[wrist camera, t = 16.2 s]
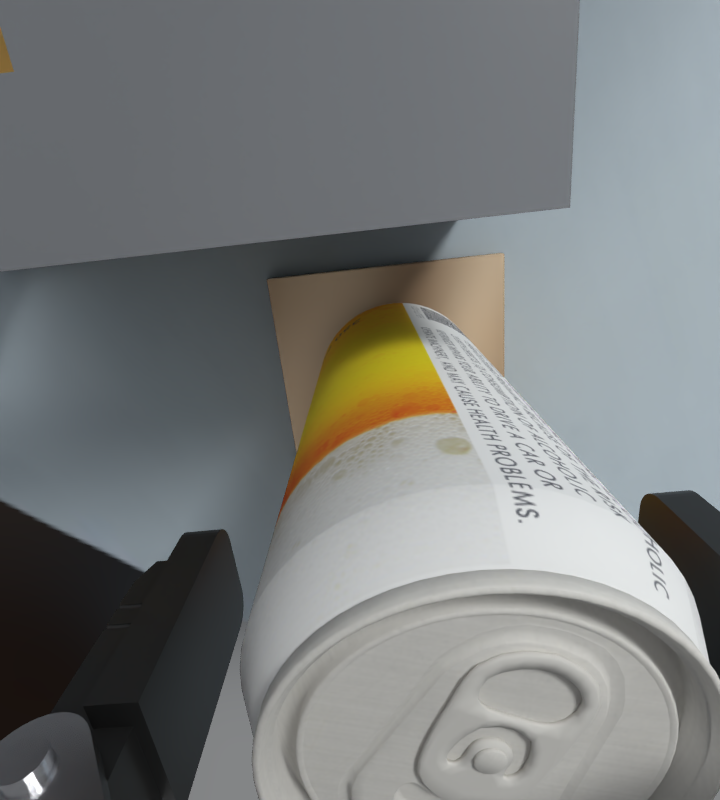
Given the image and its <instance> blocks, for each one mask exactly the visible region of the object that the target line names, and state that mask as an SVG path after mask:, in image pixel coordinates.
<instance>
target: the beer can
mask: <svg viewBox="0 0 720 800" xmlns="http://www.w3.org/2000/svg"><path fill="white" fill-rule="evenodd" d="M240 676H241V686H242V692H243V696H244V700H245V704H246V708H247V713H248V717H249V721H250V725H251V729H252V733H253V737H254V740H253V750H252V767H253V778H254V783H255V787H256V791H257V794H258V798H259V800H713V799H714V797H715V796H716V794H717V792H718V791H719V789H720V679H719V677H718V675H717V673H716V672H715V670H714V669H713V668H712V666H711V665H710V663H709V658H708V653H707V649H706V644H705V639H704V634H703V630H702V625H701V620H700V616H699V613H698V609H697V606H696V603H695V599H694V596H693V594H692V592H691V590H690V588H689V586H688V584H687V582H686V580H685V578H684V576H683V575H682V574H681V572H680V571H679V569H678V568H677V567H676V565H675V564H674V562H673V561H672V559H671V558H670V557H669V556H668V555H667V554H666V553H665V552H664V551H663V549H662V548H661V547H660V546H659V545H658V544H657V543H656V542H655V541H654V540H653V539H652V538H651V536H650V535H649V534H648V533H647V532H646V531H645V530H644V529H643V528H642V527H641V526H640V525H639V523H638V522H637V521H636V520H635V519H634V518H633V517H632V516H631V515H630V514H629V513H628V512H627V510H626V509H625V508H624V507H623V506H622V505H621V504H620V503H619V502H618V501H617V500H616V498H615V497H614V496H613V495H612V494H611V493H610V492H609V491H608V490H607V489H606V488H605V487H604V485H603V484H602V483H601V482H600V481H599V480H598V479H597V478H596V477H595V476H594V475H593V474H592V472H591V471H590V470H589V469H588V468H587V467H586V466H585V465H584V464H583V463H582V462H581V460H580V459H579V458H578V457H577V456H576V455H575V454H574V453H573V452H572V451H571V450H570V449H569V447H568V446H567V445H566V444H565V443H564V442H563V441H562V440H561V439H560V438H559V437H558V436H557V434H556V433H555V432H554V431H553V430H552V429H551V428H550V427H549V426H548V425H547V424H546V422H545V421H544V420H543V419H542V418H541V417H540V416H539V415H538V414H537V413H536V412H535V411H534V409H533V408H532V407H531V406H530V405H529V404H528V403H527V402H526V401H525V400H524V399H523V398H522V396H521V395H520V394H519V393H518V392H517V391H516V390H515V389H514V388H513V387H512V386H511V384H510V383H509V382H508V381H507V380H506V379H505V378H504V377H503V376H502V375H501V374H500V373H499V371H498V370H497V369H496V368H495V367H494V366H493V365H492V364H491V363H490V362H489V361H488V360H487V358H486V357H485V356H484V355H483V354H482V353H481V352H480V351H479V350H478V349H477V348H476V347H475V345H474V344H473V343H472V342H471V341H470V340H469V339H468V338H467V337H466V336H465V335H464V333H463V332H462V331H461V330H460V329H459V328H458V327H457V326H456V325H455V324H454V323H453V322H452V321H451V320H449V319H448V318H447V317H445V316H444V315H442V314H441V313H439V312H437V311H435V310H433V309H431V308H428V307H425V306H422V305H417V304H412V303H390V304H384V305H380V306H377V307H373V308H371V309H368V310H366V311H364V312H362V313H360V314H359V315H357V316H355V317H354V318H353V319H351V320H350V321H349V322H348V323H346V324H345V325H344V326H343V327H342V328H341V329H340V331H339V332H338V333H337V334H336V335H335V337H334V338H333V340H332V341H331V343H330V345H329V347H328V349H327V351H326V354H325V357H324V360H323V363H322V367H321V370H320V374H319V377H318V381H317V384H316V388H315V391H314V395H313V398H312V402H311V405H310V408H309V412H308V415H307V419H306V422H305V426H304V429H303V433H302V436H301V440H300V443H299V447H298V450H297V453H296V457H295V460H294V464H293V467H292V471H291V474H290V478H289V481H288V485H287V488H286V492H285V495H284V498H283V502H282V505H281V509H280V512H279V516H278V519H277V523H276V526H275V530H274V533H273V537H272V540H271V543H270V547H269V550H268V554H267V557H266V561H265V564H264V568H263V571H262V575H261V578H260V582H259V585H258V588H257V592H256V595H255V599H254V602H253V606H252V609H251V613H250V616H249V620H248V623H247V627H246V630H245V635H244V639H243V644H242V648H241V661H240Z"/></svg>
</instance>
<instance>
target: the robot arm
mask: <svg viewBox="0 0 720 800" xmlns="http://www.w3.org/2000/svg"><path fill="white" fill-rule="evenodd" d="M638 523H639V525H640V526H641V527H642V528H643V529H644V530H645V531H646V532H647V533H648V534H649V535H650V536H651V538H652V539H653V540H654V541H655V542H656V543H657V544H658V545H659V546H660V547H661V548H662V549H663V551H664V552H665V553H666V554H667V555H668V556H669V557H670V558H671V559H672V561H673V562H674V564H675V565H676V567H677V568H678V569H679V571H680V572H681V574H682V575H683V576H684V578H685V580H686V582H687V584H688V586H689V588H690V590H691V592H692V594H693V596H694V599H695V603H696V606H697V609H698V613H699V616H700V620H701V625H702V630H703V634H704V639H705V644H706V649H707V653H708V658H709V663H710V665H711V666H712V668H713V669H714V670H715V672H716V673H717V675H718V677H719V679H720V512H719V511H718V510H717V509H716V508H714V507H713V506H712V505H711V504H710V503H708V502H707V501H706V500H705V499H703V498H702V497H701V496H700V495H699V494H697V493H696V492H693V491H690V490H688V491H676V492H665V493H653V494H647V495H645V496H644V497H643V499H642V501H641V504H640V511H639V520H638ZM242 617H243V593H242V588H241V584H240V580H239V576H238V571H237V567H236V563H235V559H234V555H233V551H232V547H231V543H230V539H229V536H228V534H227V532H226V531H225V530H223V529H221V530H209V531H198V532H186V533H184V534H183V535H182V536H181V538H180V539H179V541H178V543H177V545H176V546H175V548H174V550H173V551H172V553H171V555H170V557H169V558H168V560H167V561H157V562H156V563H155V564H154V565H153V566H151V567H150V568H149V569H148V570H147V571H146V572H145V573H144V574H142V575H141V576H140V577H139V578H138V579H137V580H136V581H135V582H134V583H133V584H132V586H131V588H130V589H129V591H128V593H127V594H126V595H125V597H124V599H123V600H122V602H121V603H120V608H119V609H118V610H116V611H115V613H114V614H113V616H112V618H111V619H110V621H109V622H108V624H107V629H106V630H103V632H102V633H101V635H100V636H99V638H98V640H97V641H96V643H95V644H94V646H93V647H92V649H91V651H90V652H89V654H88V655H87V657H86V658H85V660H84V662H83V663H82V664H81V666H80V668H79V669H78V671H77V673H76V674H75V675H74V677H73V679H72V680H71V682H70V683H69V685H68V686H67V688H66V690H65V691H64V693H63V694H62V696H61V697H60V699H59V701H58V702H57V704H56V705H55V707H54V709H53V710H52V711H51V713H50V714H49V715H45V716H43V717H40V718H37V719H35V720H33V721H31V722H29V723H27V724H25V725H23V726H21V727H20V728H18V729H17V730H15V731H13V732H12V733H11V734H9V735H8V736H6V737H5V738H4V739H2V740H1V741H0V800H188V797H189V794H190V791H191V787H192V784H193V781H194V778H195V774H196V771H197V768H198V764H199V761H200V758H201V754H202V751H203V748H204V745H205V741H206V738H207V735H208V732H209V728H210V725H211V722H212V718H213V715H214V712H215V708H216V705H217V702H218V699H219V696H220V692H221V689H222V685H223V682H224V679H225V676H226V672H227V669H228V666H229V663H230V659H231V656H232V652H233V650H234V646H235V643H236V640H237V636H238V633H239V630H240V627H241V623H242Z"/></svg>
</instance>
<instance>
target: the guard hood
mask: <svg viewBox="0 0 720 800" xmlns="http://www.w3.org/2000/svg"><path fill="white" fill-rule="evenodd" d="M579 1H580V0H0V28H1V31H2V34H3V37H4V41H5V44H6V47H7V50H8V54H9V57H10V60H11V63H12V67H13V70H14V72H7V73H0V272H2V271H11V270H20V269H29V268H37V267H46V266H55V265H64V264H73V263H82V262H91V261H100V260H108V259H117V258H126V257H135V256H144V255H153V254H162V253H170V252H179V251H188V250H197V249H206V248H215V247H224V246H233V245H241V244H250V243H259V242H268V241H277V240H286V239H295V238H304V237H312V236H321V235H330V234H339V233H348V232H357V231H366V230H374V229H383V228H392V227H401V226H410V225H419V224H428V223H437V222H445V221H454V220H463V219H472V218H481V217H490V216H499V215H507V214H516V213H525V212H534V211H543V210H552V209H561V208H570V196H571V175H572V153H573V131H574V110H575V88H576V66H577V45H578V23H579Z"/></svg>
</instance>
